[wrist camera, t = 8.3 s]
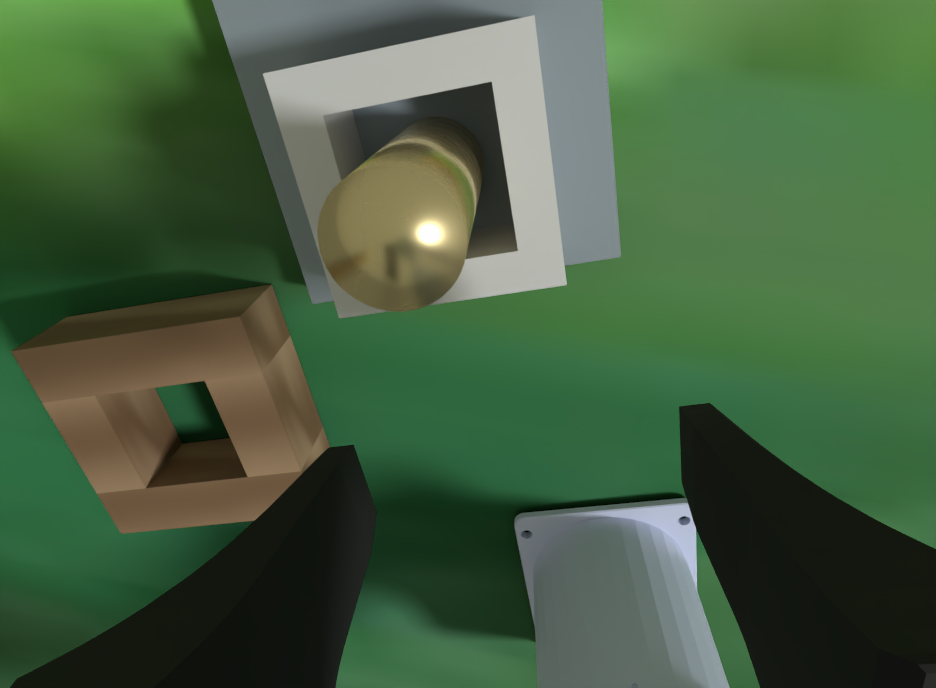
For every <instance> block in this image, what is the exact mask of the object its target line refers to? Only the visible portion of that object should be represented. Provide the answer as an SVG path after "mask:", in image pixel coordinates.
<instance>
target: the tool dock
mask: <svg viewBox="0 0 936 688" xmlns="http://www.w3.org/2000/svg"><path fill="white" fill-rule="evenodd" d="M212 2H213V5H214V8H215V11H216V14H217V17H218V20H219V23H220V26H221V29H222V32H223V35H224V38H225V41H226V44H227V47H228V50H229V53H230V56H231V59H232V62H233V65H234V68H235V71H236V74H237V77H238V80H239V83H240V86H241V89H242V92H243V95H244V98H245V101H246V104H247V107H248V110H249V113H250V116H251V119H252V122H253V126H254V129H255V132H256V135H257V138H258V141H259V144H260V147H261V150H262V153H263V156H264V159H265V162H266V165H267V168H268V171H269V174H270V177H271V180H272V183H273V186H274V189H275V192H276V195H277V198H278V201H279V204H280V207H281V210H282V213H283V216H284V219H285V222H286V225H287V228H288V231H289V234H290V237H291V240H292V243H293V246H294V249H295V252H296V255H297V258H298V261H299V264H300V267H301V270H302V273H303V276H304V279H305V282H306V286H307V289H308V292H309V295H310V298H311V301H312V304H316V303H322V302H329V301H334V303H335V306H336V309H337V313H338V316H339V318H346V317H353V316H360V315H367V314H373V313H380V312H387V311H386V310H381V309H377V308H374V307H371V306H368V305H366V304H364V303H362V302H360V301H358V300H356V299H355V298H353V297H352V296H350V295H349V294H348V293H347V292H345V291H344V290H343V289H342V288H341V287H340V286H339V285H338V284H337V283H336V281H335V280H334V279H333V278H332V276H331V275H330V273H329V271H328V270H327V268H326V266H325V264H324V262H323V259H322V256H321V253H320V250H319V245H318V235H317V229H318V220H319V216H320V212H321V209H322V207H323V204H324V202H325V200H326V198H327V197H328V195H329V194H330V192H331V191H332V190H333V189H334V187H335V186H336V185H337V184H338V183H340V182H341V181H342V180H343V179H344V178H345V177H347V176H348V175H349V174H350V173H352V172H353V171H354V170H355V169H356V168H358V167H359V166H360V165H361V164H363V163H364V162H365V161H366V160H367V159H369V158H370V157H371V156H372V155H374V154H375V153H376V152H377V151H379V150H380V149H381V148H382V147H383V146H385V145H386V144H387V143H388V142H390V141H391V140H392V139H393V138H394V137H396V136H397V135H398V134H399V133H401V132H402V131H403V130H404V129H406V128H407V127H408V126H409V125H411V124H412V123H414V122H416V121H418V120H420V119H423V118H427V117H434V116H439V117H446V118H450V119H453V120H455V121H457V122H459V123H461V124H462V125H464V126H465V127H466V128H467V129H469V130H470V131H471V132H472V134H473V135H474V136H475V137H476V139H477V141H478V142H479V144H480V147H481V149H482V152H483V156H484V165H485V168H484V176H483V181H482V185H481V190H480V195H479V199H478V204H477V208H476V213H475V217H474V222H473V226H472V231H471V236H470V240H469V245H468V249H467V254H466V258H465V263H464V266H463V269H462V271H461V273H460V275H459V277H458V279H457V281H456V282H455V283H454V285H453V286H452V288H451V289H450V290H449V291H448V292H447V293H446V294H445V295H443V296H442V297H441V298H440V299H438V300H437V301H435V302H433V303H432V304H430V305H434V304H441V303H448V302H455V301H461V300H468V299H475V298H482V297H488V296H495V295H502V294H509V293H516V292H522V291H529V290H536V289H543V288H549V287H556V286H563V285H567V282H566V274H565V265H571V264H578V263H585V262H591V261H598V260H604V259H611V258H617V257H621V251H620V237H619V224H618V210H617V197H616V183H615V170H614V156H613V143H612V129H611V116H610V102H609V89H608V75H607V62H606V48H605V35H604V22H603V8H602V0H212Z"/></svg>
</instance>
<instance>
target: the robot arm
mask: <svg viewBox="0 0 936 688" xmlns="http://www.w3.org/2000/svg"><path fill="white" fill-rule="evenodd" d="M679 412H680V443H681V474H682V484H683V488H684V491H685V495H686V498H678V499H667V500H656V501H645V502H635V503H624V504H613V505H602V506H592V507H581V508H570V509H559V510H549V511H538V512H527V513H521V514H519V515H517V516H516V517H515V520H514V527H515V532H516V537H517V542H518V547H519V552H520V557H521V562H522V567H523V572H524V577H525V582H526V587H527V592H528V597H529V602H530V607H531V612H532V617H533V621H534V626H535V639H536V665H537V688H729V685H728V682H727V679H726V676H725V673H724V670H723V667H722V664H721V661H720V658H719V655H718V652H717V649H716V646H715V643H714V640H713V637H712V634H711V631H710V628H709V625H708V622H707V619H706V616H705V613H704V610H703V607H702V604H701V601H700V598H699V595H698V592H697V563H696V529H697V532H698V534H699V536H700V539H701V541H702V543H703V545H704V548H705V550H706V552H707V555H708V557H709V559H710V561H711V564H712V566H713V568H714V570H715V573H716V575H717V577H718V579H719V582H720V584H721V586H722V588H723V591H724V593H725V595H726V597H727V600H728V602H729V604H730V606H731V609H732V611H733V613H734V615H735V618H736V620H737V622H738V625H739V628H740V630H741V633H742V635H743V638H744V640H745V643H746V646H747V649H748V652H749V655H750V658H751V661H752V664H753V667H754V670H755V673H756V676H757V679H758V682H759V685H760V688H936V549H934V548H932V547H930V546H928V545H926V544H924V543H922V542H920V541H917V540H915V539H913V538H911V537H909V536H907V535H905V534H903V533H901V532H899V531H897V530H895V529H893V528H891V527H889V526H887V525H885V524H883V523H881V522H879V521H877V520H875V519H873V518H871V517H870V516H868V515H866V514H864V513H863V512H861V511H859V510H857V509H856V508H854V507H852V506H850V505H849V504H847V503H845V502H843V501H842V500H840V499H838V498H836V497H835V496H833V495H832V494H830V493H828V492H827V491H825V490H823V489H822V488H820V487H819V486H817V485H816V484H814V483H813V482H811V481H810V480H808V479H807V478H805V477H804V476H802V475H801V474H799V473H798V472H796V471H795V470H794V469H792V468H791V467H789V466H788V465H787V464H785V463H784V462H783V461H781V460H780V459H779V458H777V457H776V456H775V455H773V454H772V453H771V452H769V451H768V450H767V449H765V448H764V447H763V446H761V445H760V444H759V443H758V442H756V441H755V440H754V439H753V438H751V437H750V436H749V435H748V434H747V433H745V432H744V431H743V430H742V429H740V428H739V427H738V426H737V425H736V424H734V423H733V422H732V421H731V420H730V419H728V418H727V417H726V416H725V415H724V414H722V413H721V412H720V411H719V410H718V409H716V408H715V407H714V406H713V405H711V404H710V403H706V404H697V405H689V406H680V407H679ZM376 514H377V512H376V509H375V506H374V503H373V500H372V497H371V494H370V491H369V488H368V485H367V483H366V480H365V477H364V474H363V471H362V468H361V465H360V462H359V459H358V456H357V453H356V451H355V448H354V445H348V446H339V447H331V448H328V449H327V450H325V451H324V452H323V453H322V454H321V455H320V456H319V457H318V458H317V459H316V460H315V461H314V462H313V463H312V464H311V465H310V466H309V467H308V468H307V469H306V470H305V471H304V472H303V473H302V474H301V475H300V476H299V477H298V478H297V479H296V480H295V481H294V482H293V483H292V484H291V485H290V486H289V487H288V488H287V489H286V491H285V492H284V493H283V494H282V495H281V496H280V497H279V498H278V499H277V500H276V501H275V502H274V503H273V504H272V505H271V506H270V507H269V508H268V509H267V510H265V511H264V512H263V513H262V514H261V515H260V516H259V517H258V518H257V519H256V520H255V521H254V522H253V523H251V524H250V525H249V526H248V527H247V528H246V529H245V530H244V531H243V532H242V533H241V534H240V535H239V536H237V537H236V538H235V539H234V540H233V541H232V542H231V543H230V544H228V545H227V546H226V547H225V548H224V549H223V550H221V551H220V552H219V553H218V554H217V555H215V556H214V557H213V558H212V559H210V560H209V561H208V562H206V563H205V564H204V565H203V566H201V567H200V568H199V569H198V570H196V571H195V572H194V573H192V574H191V575H190V576H188V577H187V578H186V579H184V580H183V581H181V582H180V583H179V584H177V585H176V586H174V587H173V588H171V589H170V590H169V591H167V592H166V593H164V594H163V595H161V596H160V597H159V598H157V599H156V600H154V601H153V602H151V603H150V604H148V605H147V606H146V607H144V608H142V609H141V610H139V611H138V612H136V613H135V614H133V615H131V616H130V617H128V618H127V619H125V620H123V621H122V622H120V623H119V624H117V625H115V626H114V627H112V628H110V629H109V630H107V631H105V632H104V633H102V634H100V635H98V636H97V637H95V638H93V639H92V640H90V641H88V642H86V643H84V644H83V645H81V646H79V647H77V648H75V649H74V650H72V651H70V652H68V653H66V654H64V655H62V656H60V657H58V658H56V659H54V660H53V661H51V662H49V663H47V664H45V665H43V666H41V667H39V668H37V669H35V670H33V671H32V672H30V673H28V674H26V675H23V676H21V677H19V678H17V679H16V680H15V682H14V683H13V684H12V686H11V687H10V688H335V686H336V680H337V675H338V670H339V665H340V661H341V657H342V653H343V649H344V645H345V642H346V638H347V635H348V631H349V628H350V624H351V621H352V618H353V614H354V611H355V607H356V604H357V600H358V597H359V594H360V590H361V587H362V583H363V580H364V576H365V572H366V569H367V565H368V562H369V558H370V554H371V549H372V542H373V536H374V529H375V521H376ZM683 516H686V518H684V519H679V518H681V517H683ZM525 530H528V531H530V532H523V531H525Z"/></svg>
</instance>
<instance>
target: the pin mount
mask: <svg viewBox="0 0 936 688" xmlns="http://www.w3.org/2000/svg"><path fill="white" fill-rule="evenodd" d="M11 352H12V354H13V355H14V357H15V359H16V360H17V362H18V364H19V365H20V367H21V369H22V370H23V372H24V374H25V375H26V377H27V379H28V380H29V382H30V383H31V385H32V387H33V388H34V390H35V392H36V393H37V395H38V397H39V398H40V400H41V402H42V403H43V405H44V407H45V408H46V410H47V412H48V413H49V415H50V417H51V418H52V420H53V422H54V423H55V425H56V427H57V428H58V430H59V432H60V433H61V435H62V437H63V438H64V440H65V441H66V443H67V445H68V446H69V448H70V450H71V451H72V453H73V455H74V456H75V458H76V460H77V461H78V463H79V465H80V466H81V468H82V470H83V471H84V473H85V475H86V476H87V478H88V480H89V481H90V483H91V485H92V486H93V488H94V490H95V491H96V493H97V495H98V496H99V498H100V500H101V501H102V503H103V504H104V506H105V508H106V509H107V511H108V513H109V514H110V516H111V518H112V519H113V521H114V523H115V524H116V526H117V528H118V529H119V531H120V533H121V534H122V533H133V532H143V531H153V530H163V529H174V528H184V527H194V526H204V525H215V524H225V523H235V522H245V521H255V520H256V519H257V518H258V517H259V516H260V515H261V514H262V513H263V512H264V511H265V510H267V509H268V508H269V507H270V506H271V505H272V504H273V503H274V502H275V501H276V500H277V499H278V498H279V497H280V496H281V495H282V494H283V493H284V492H285V491H286V489H287V488H288V487H289V486H290V485H291V484H292V483H293V482H294V481H295V480H296V479H297V478H298V477H299V476H300V475H301V474H302V473H303V472H304V471H305V470H306V469H307V468H308V467H309V466H310V465H311V464H312V463H313V462H314V461H315V460H316V459H317V458H318V457H319V456H320V455H321V454H322V453H323V452H324V451H325V450H327V449H328V448H330V445H329V442H328V439H327V437H326V434H325V431H324V428H323V426H322V423H321V420H320V417H319V414H318V412H317V409H316V406H315V403H314V401H313V398H312V395H311V392H310V389H309V387H308V384H307V381H306V378H305V375H304V373H303V370H302V367H301V364H300V362H299V359H298V356H297V353H296V350H295V348H294V345H293V342H292V339H291V336H290V334H289V331H288V328H287V325H286V323H285V320H284V317H283V314H282V311H281V309H280V306H279V303H278V300H277V297H276V295H275V292H274V289H273V286H272V284H270V285H264V286H258V287H251V288H245V289H239V290H233V291H226V292H220V293H214V294H208V295H201V296H195V297H189V298H182V299H176V300H170V301H164V302H157V303H151V304H145V305H139V306H132V307H126V308H120V309H113V310H107V311H101V312H95V313H88V314H82V315H76V316H69V317H66V318H64V319H63V320H61V321H59V322H58V323H56V324H54V325H53V326H51V327H50V328H48V329H46V330H45V331H43V332H42V333H40V334H38V335H37V336H35V337H33V338H32V339H30V340H29V341H27V342H25V343H24V344H22V345H20V346H19V347H17V348H16V349H14V350H12V351H11ZM200 381H205V383H206V385H207V387H208V389H209V392H210V394H211V396H212V398H213V401H214V403H215V405H216V407H217V410H218V412H219V414H220V416H221V418H222V421H223V423H224V425H225V427H226V430H227V432H228V434H229V436H230V438H225V439H217V440H209V441H200V442H192V443H184V444H182V442H181V440H180V438H179V436H178V434H177V431H176V429H175V427H174V425H173V423H172V421H171V419H170V417H169V415H168V413H167V411H166V409H165V407H164V405H163V403H162V401H161V399H160V397H159V395H158V393H157V391H156V389H155V388H156V387H163V386H170V385H178V384H185V383H192V382H200Z"/></svg>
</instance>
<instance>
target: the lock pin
mask: <svg viewBox="0 0 936 688" xmlns="http://www.w3.org/2000/svg"><path fill="white" fill-rule="evenodd" d="M484 168H485V165H484V156H483V152H482V149H481V147H480V144H479V142H478V141H477V139H476V137H475V136H474V135H473V134H472V132H471V131H470V130H469V129H467V128H466V127H465V126H464V125H462V124H461V123H459V122H457V121H455V120H453V119H450V118H446V117H439V116H434V117H427V118H423V119H420V120H418V121H416V122H414V123H412V124H411V125H409V126H408V127H407V128H406V129H404V130H403V131H402V132H401V133H399V134H398V135H397V136H396V137H394V138H393V139H392V140H391V141H390V142H388V143H387V144H386V145H385V146H383V147H382V148H381V149H380V150H379V151H377V152H376V153H375V154H374V155H372V156H371V157H370V158H369V159H367V160H366V161H365V162H364V163H363V164H361V165H360V166H359V167H358V168H356V169H355V170H354V171H353V172H352V173H350V174H349V175H348V176H347V177H345V178H344V179H343V180H342V181H341V182H340V183H338V184H337V185H336V186H335V187H334V189H333V190H332V191H331V192H330V194H329V195H328V197H327V198H326V200H325V202H324V204H323V207H322V209H321V212H320V216H319V220H318V229H317V235H318V245H319V250H320V253H321V256H322V259H323V262H324V264H325V266H326V268H327V270H328V271H329V273H330V275H331V276H332V278H333V279H334V280H335V281H336V283H337V284H338V285H339V286H340V287H341V288H342V289H343V290H344V291H345V292H347V293H348V294H349V295H350V296H352V297H353V298H355V299H356V300H358V301H360V302H362V303H364V304H366V305H368V306H371V307H374V308H377V309H381V310H386V311H395V312H397V311H410V310H415V309H419V308H422V307H425V306H427V305H430V304H432V303H433V302H435V301H437V300H438V299H440V298H441V297H442V296H443V295H445V294H446V293H447V292H448V291H449V290H450V289H451V288H452V286H453V285H454V283H455V282H456V281H457V279H458V277H459V275H460V273H461V271H462V269H463V266H464V263H465V258H466V254H467V249H468V245H469V240H470V236H471V231H472V226H473V222H474V217H475V213H476V208H477V204H478V199H479V195H480V190H481V185H482V181H483V176H484Z"/></svg>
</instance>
